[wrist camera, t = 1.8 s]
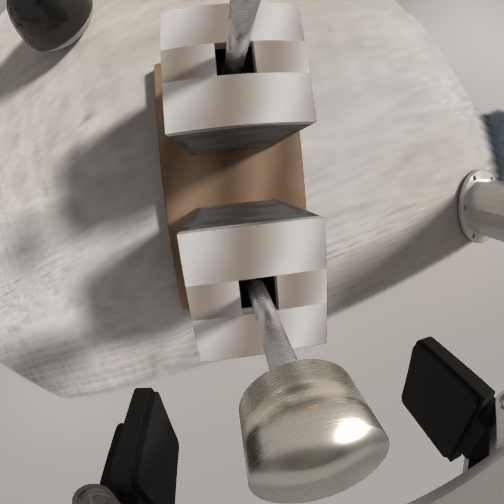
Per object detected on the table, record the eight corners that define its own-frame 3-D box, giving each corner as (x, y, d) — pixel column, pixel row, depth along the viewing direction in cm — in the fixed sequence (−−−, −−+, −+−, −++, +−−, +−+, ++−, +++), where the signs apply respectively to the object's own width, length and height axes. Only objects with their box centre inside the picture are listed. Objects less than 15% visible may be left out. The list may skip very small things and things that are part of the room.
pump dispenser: (71, 68, 27) (9, 27, 12) (30, 50, 25) (-28, 17, 10) (116, 10, 26) (78, -50, 11) (71, -3, 23) (28, -50, 9)
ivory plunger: (284, 219, 25) (461, 341, 5) (289, 294, 27) (401, 485, 7) (202, 228, 24) (152, 407, 5) (213, 305, 26) (217, 527, 7)
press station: (286, 57, 30) (336, -19, 13) (307, 288, 38) (365, 364, 21) (156, 68, 29) (113, -6, 12) (184, 304, 37) (163, 395, 20)
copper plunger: (267, 53, 21) (360, -125, 2) (275, 126, 23) (442, 1, 3) (186, 59, 21) (138, -133, 1) (191, 133, 22) (99, -16, 3)
